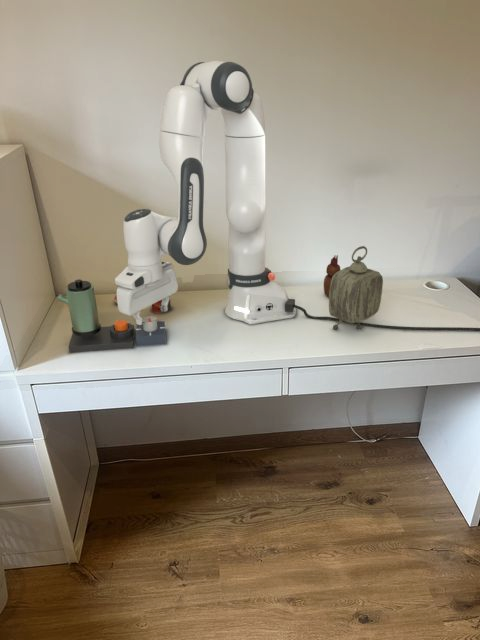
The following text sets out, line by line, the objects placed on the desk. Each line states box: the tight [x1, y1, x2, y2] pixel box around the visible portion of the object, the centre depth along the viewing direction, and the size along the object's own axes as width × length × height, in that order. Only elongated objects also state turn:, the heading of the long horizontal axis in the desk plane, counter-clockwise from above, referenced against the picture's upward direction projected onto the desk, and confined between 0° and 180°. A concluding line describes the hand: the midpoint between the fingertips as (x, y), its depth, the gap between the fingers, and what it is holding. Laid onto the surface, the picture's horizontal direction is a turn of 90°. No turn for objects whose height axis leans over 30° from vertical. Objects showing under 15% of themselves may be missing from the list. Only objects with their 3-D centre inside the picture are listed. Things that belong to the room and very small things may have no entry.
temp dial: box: [143, 315, 158, 332], centre depth 155 cm, size 4×4×3 cm
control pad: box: [135, 320, 167, 347], centre depth 156 cm, size 8×9×3 cm
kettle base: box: [68, 322, 135, 354], centre depth 154 cm, size 17×11×4 cm, turn 100°
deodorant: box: [151, 261, 172, 314], centre depth 171 cm, size 6×6×15 cm
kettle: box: [56, 279, 102, 336], centre depth 150 cm, size 10×10×15 cm
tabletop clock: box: [328, 245, 384, 331], centre depth 158 cm, size 14×9×25 cm, turn 134°
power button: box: [113, 319, 129, 331], centre depth 154 cm, size 4×4×2 cm
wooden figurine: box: [323, 254, 341, 298], centre depth 181 cm, size 7×6×15 cm
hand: (152, 317), depth 154 cm, fingers open, 8 cm apart
